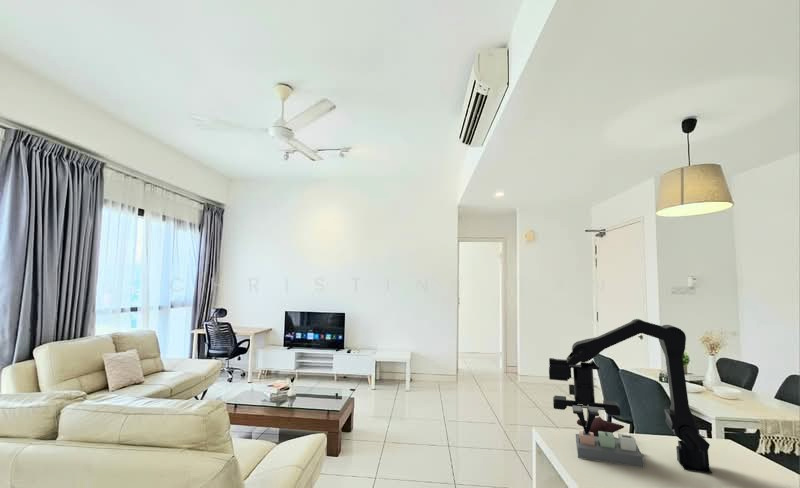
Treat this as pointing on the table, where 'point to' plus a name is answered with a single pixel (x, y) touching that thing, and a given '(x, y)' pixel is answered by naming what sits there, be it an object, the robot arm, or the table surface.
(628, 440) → the key ivory
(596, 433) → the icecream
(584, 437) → the key coral
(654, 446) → the table surface
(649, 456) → the table surface
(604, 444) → the key sage
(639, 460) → the keypad
